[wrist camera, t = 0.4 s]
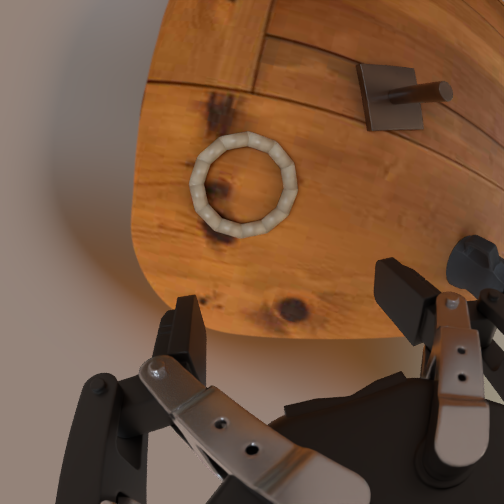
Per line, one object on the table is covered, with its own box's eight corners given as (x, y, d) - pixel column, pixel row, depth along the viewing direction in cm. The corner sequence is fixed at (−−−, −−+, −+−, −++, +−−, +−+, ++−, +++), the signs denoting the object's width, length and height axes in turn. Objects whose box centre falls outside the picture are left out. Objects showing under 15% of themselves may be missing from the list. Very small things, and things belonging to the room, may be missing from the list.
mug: (482, 262, 38) (524, 290, 28) (451, 295, 40) (492, 330, 29) (470, 210, 34) (522, 234, 24) (436, 246, 35) (487, 280, 25)
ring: (181, 145, 27) (179, 145, 26) (285, 125, 28) (289, 124, 26) (204, 243, 31) (203, 248, 30) (300, 223, 32) (304, 227, 30)
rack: (355, 65, 25) (406, 44, 16) (408, 69, 26) (463, 58, 16) (367, 131, 29) (422, 132, 19) (418, 129, 29) (475, 133, 19)
